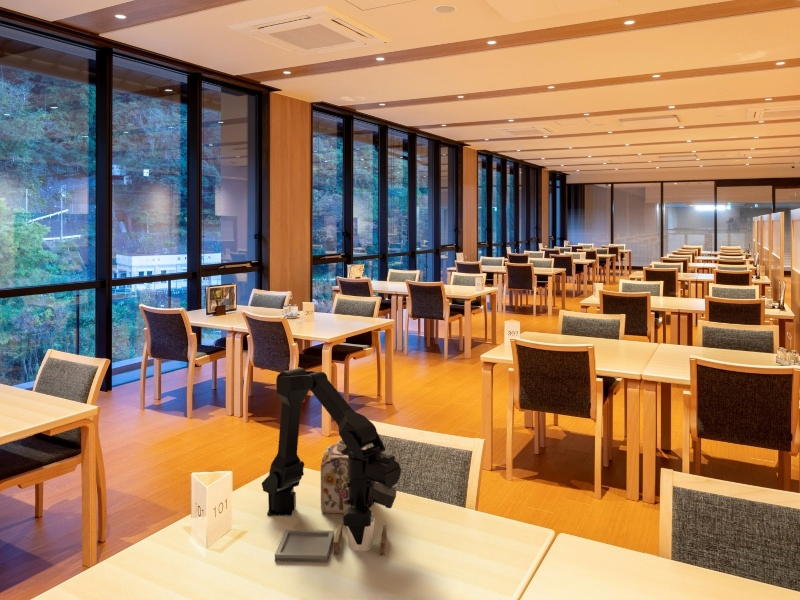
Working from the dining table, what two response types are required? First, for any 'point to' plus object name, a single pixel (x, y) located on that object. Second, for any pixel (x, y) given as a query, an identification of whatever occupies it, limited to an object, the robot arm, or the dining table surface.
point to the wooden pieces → (339, 536)
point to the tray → (305, 546)
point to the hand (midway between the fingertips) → (360, 537)
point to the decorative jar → (334, 479)
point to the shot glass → (366, 540)
